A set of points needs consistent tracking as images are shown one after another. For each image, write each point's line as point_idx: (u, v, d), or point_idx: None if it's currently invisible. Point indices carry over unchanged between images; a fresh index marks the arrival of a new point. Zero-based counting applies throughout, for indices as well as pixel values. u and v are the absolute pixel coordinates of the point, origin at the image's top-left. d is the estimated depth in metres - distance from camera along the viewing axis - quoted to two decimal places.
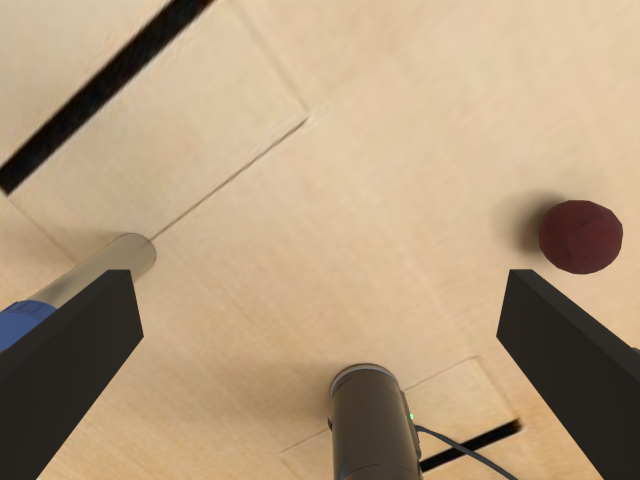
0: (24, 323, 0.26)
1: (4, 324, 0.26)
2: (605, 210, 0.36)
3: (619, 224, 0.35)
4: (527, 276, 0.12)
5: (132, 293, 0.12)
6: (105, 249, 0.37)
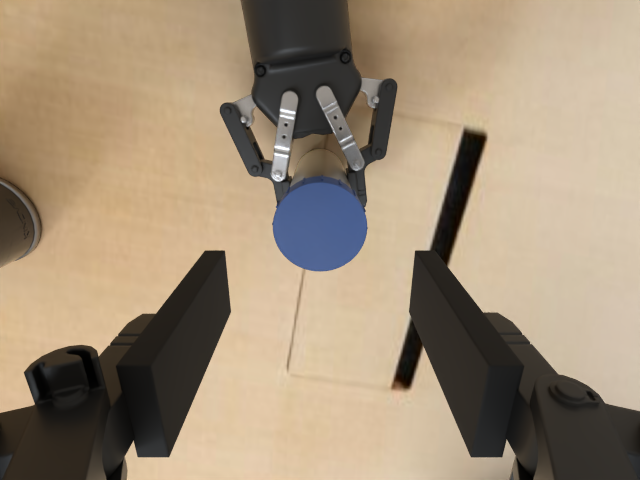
0: (333, 257, 0.21)
1: (350, 240, 0.21)
2: None
3: None
4: (427, 256, 0.13)
5: (225, 272, 0.14)
6: None
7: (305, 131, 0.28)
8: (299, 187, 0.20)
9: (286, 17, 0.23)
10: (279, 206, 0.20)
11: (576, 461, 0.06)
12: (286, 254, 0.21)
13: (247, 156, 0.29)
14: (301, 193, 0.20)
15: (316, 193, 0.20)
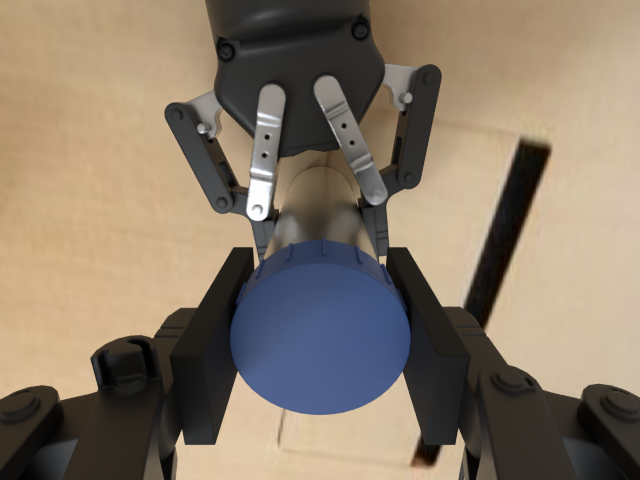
0: (344, 392, 0.11)
1: (377, 364, 0.11)
2: None
3: None
4: (398, 252, 0.14)
5: (253, 268, 0.14)
6: None
7: (298, 147, 0.19)
8: (279, 272, 0.10)
9: None
10: (240, 306, 0.10)
11: (515, 447, 0.06)
12: (257, 388, 0.11)
13: (210, 184, 0.19)
14: (283, 283, 0.10)
15: (313, 284, 0.10)
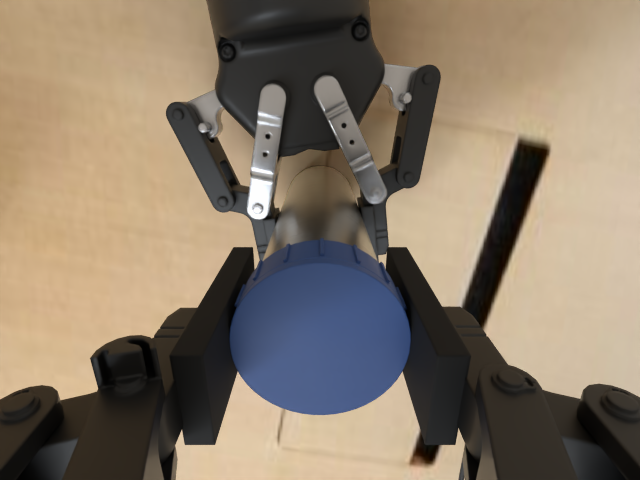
0: (385, 343, 0.11)
1: (364, 305, 0.10)
2: None
3: None
4: (398, 252, 0.14)
5: (253, 268, 0.14)
6: None
7: (298, 146, 0.19)
8: (231, 350, 0.11)
9: None
10: (255, 389, 0.11)
11: (515, 447, 0.06)
12: (344, 408, 0.11)
13: (211, 183, 0.19)
14: (243, 351, 0.11)
15: (252, 330, 0.10)
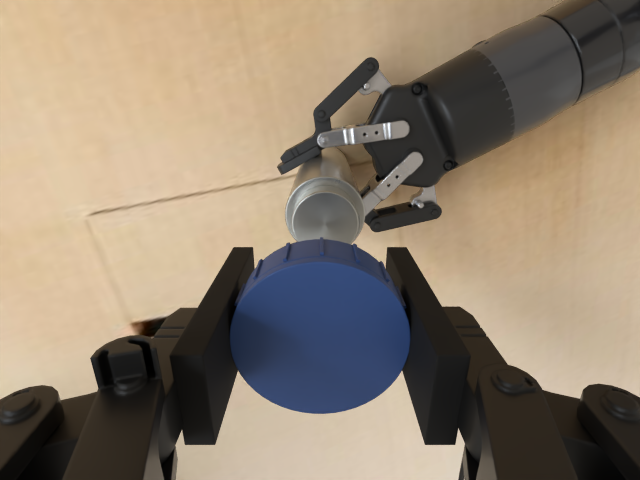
0: (385, 342, 0.11)
1: (364, 303, 0.10)
2: None
3: None
4: (398, 252, 0.14)
5: (253, 268, 0.14)
6: None
7: (373, 152, 0.28)
8: (231, 349, 0.11)
9: (477, 106, 0.25)
10: (255, 387, 0.11)
11: (515, 447, 0.06)
12: (344, 407, 0.11)
13: (331, 102, 0.27)
14: (243, 350, 0.11)
15: (252, 329, 0.10)
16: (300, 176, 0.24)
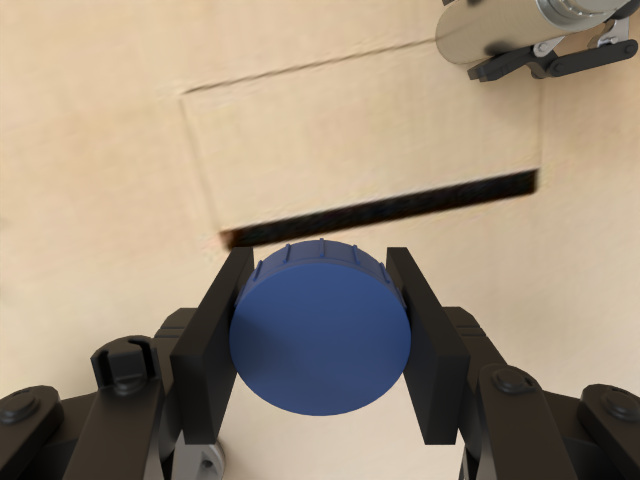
0: (385, 344, 0.10)
1: (365, 305, 0.10)
2: None
3: None
4: (398, 252, 0.14)
5: (253, 268, 0.14)
6: (473, 55, 0.27)
7: None
8: (231, 351, 0.11)
9: None
10: (254, 389, 0.11)
11: (515, 447, 0.06)
12: (344, 409, 0.11)
13: None
14: (242, 352, 0.11)
15: (251, 330, 0.10)
16: None
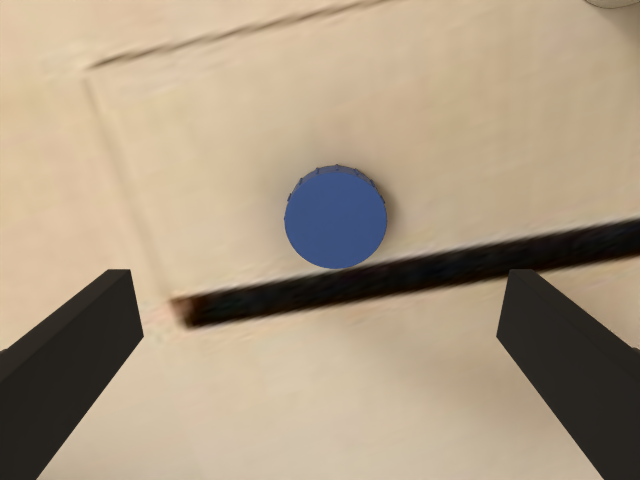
0: (372, 221, 0.19)
1: (360, 197, 0.18)
2: None
3: None
4: (527, 276, 0.12)
5: (132, 293, 0.12)
6: None
7: None
8: (285, 226, 0.19)
9: None
10: (297, 251, 0.20)
11: None
12: (349, 264, 0.20)
13: None
14: (292, 226, 0.19)
15: (297, 213, 0.19)
16: None
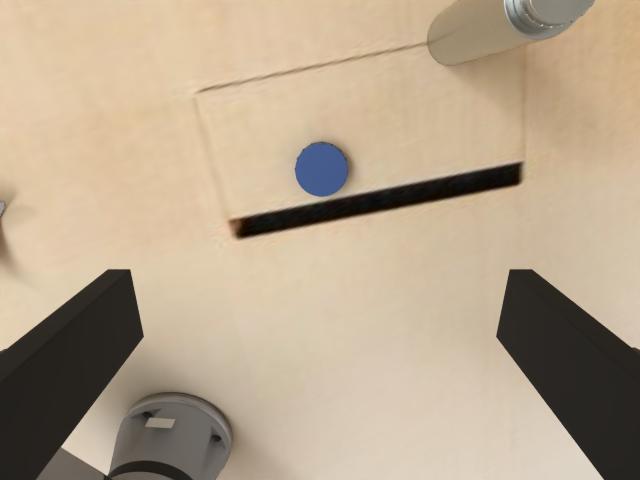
0: (340, 170, 0.37)
1: (333, 157, 0.36)
2: None
3: None
4: (527, 276, 0.12)
5: (132, 293, 0.12)
6: (460, 58, 0.30)
7: None
8: (295, 172, 0.37)
9: None
10: (302, 186, 0.37)
11: None
12: (328, 193, 0.38)
13: None
14: (299, 173, 0.37)
15: (302, 165, 0.37)
16: None
